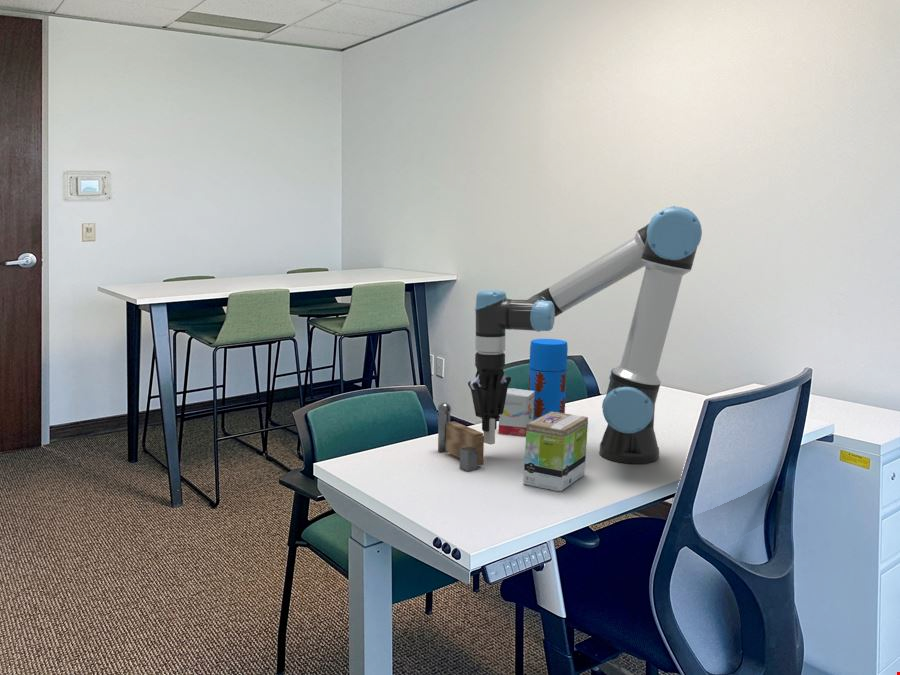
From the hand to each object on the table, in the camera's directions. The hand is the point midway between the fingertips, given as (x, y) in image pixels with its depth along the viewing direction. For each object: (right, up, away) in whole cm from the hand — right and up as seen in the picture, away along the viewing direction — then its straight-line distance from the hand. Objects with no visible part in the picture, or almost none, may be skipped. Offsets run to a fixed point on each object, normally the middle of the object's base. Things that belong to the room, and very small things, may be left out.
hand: (489, 442), depth 208 cm
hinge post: (-12, -3, +4) cm, 13 cm away
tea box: (+15, -7, -16) cm, 23 cm away
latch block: (-6, -5, -10) cm, 12 cm away
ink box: (+9, 0, +25) cm, 26 cm away
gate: (-7, -3, -4) cm, 8 cm away
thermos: (+18, +1, +33) cm, 37 cm away
